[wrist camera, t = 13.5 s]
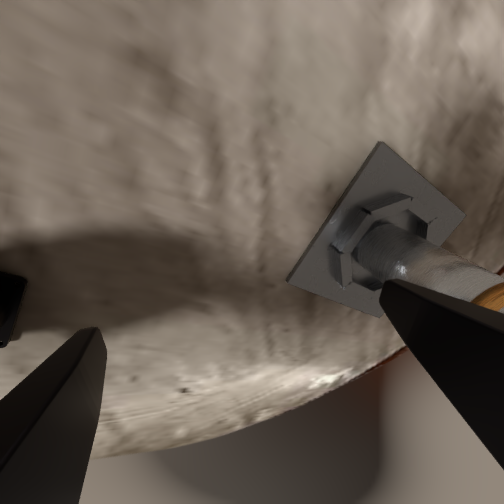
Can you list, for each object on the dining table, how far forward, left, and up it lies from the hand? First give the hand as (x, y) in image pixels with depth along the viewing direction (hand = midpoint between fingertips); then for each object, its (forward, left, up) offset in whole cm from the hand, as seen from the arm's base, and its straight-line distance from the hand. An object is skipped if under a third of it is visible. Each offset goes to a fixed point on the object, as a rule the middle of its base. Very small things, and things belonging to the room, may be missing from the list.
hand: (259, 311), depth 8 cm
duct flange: (+3, -17, -13) cm, 22 cm away
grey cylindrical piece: (+3, -17, -12) cm, 21 cm away
